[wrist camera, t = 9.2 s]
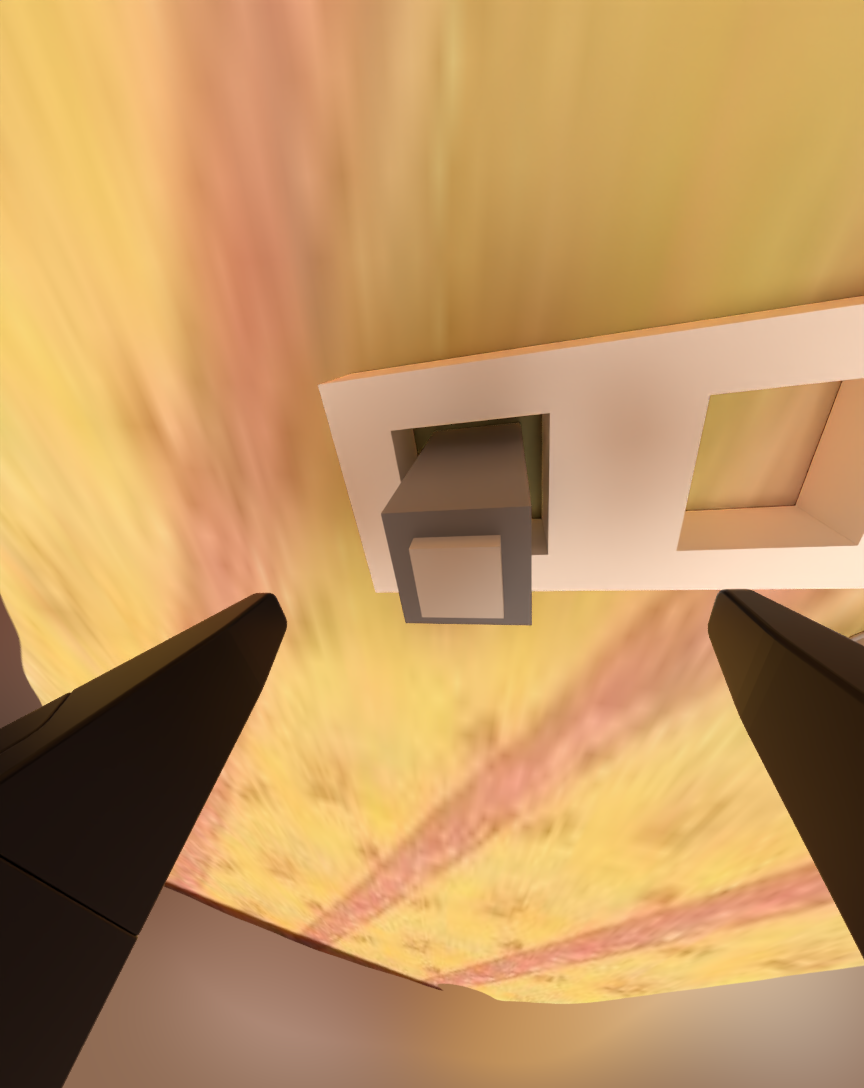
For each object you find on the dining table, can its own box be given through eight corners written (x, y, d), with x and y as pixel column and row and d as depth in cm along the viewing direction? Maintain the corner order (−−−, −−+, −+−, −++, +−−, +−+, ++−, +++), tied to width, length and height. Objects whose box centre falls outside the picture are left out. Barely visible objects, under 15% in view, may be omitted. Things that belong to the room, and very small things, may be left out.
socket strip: (969, 279, 12) (1120, 265, 9) (841, 548, 17) (910, 596, 14) (350, 373, 17) (317, 384, 14) (394, 561, 22) (377, 598, 19)
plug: (520, 422, 17) (532, 516, 9) (521, 502, 19) (532, 639, 11) (434, 431, 18) (374, 524, 10) (444, 506, 20) (401, 636, 12)
